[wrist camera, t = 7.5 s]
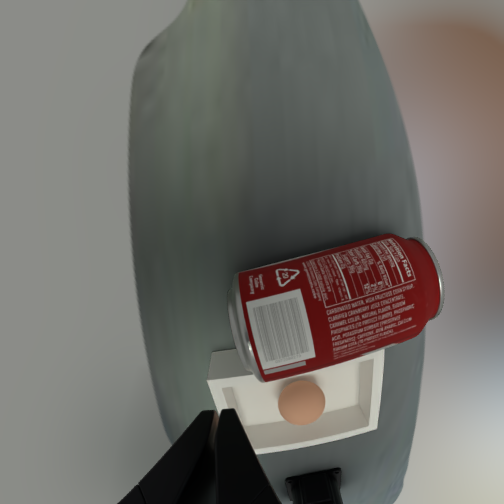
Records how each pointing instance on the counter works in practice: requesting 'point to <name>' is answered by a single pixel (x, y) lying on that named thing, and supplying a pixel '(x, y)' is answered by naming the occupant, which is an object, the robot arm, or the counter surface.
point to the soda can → (333, 305)
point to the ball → (301, 402)
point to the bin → (267, 394)
